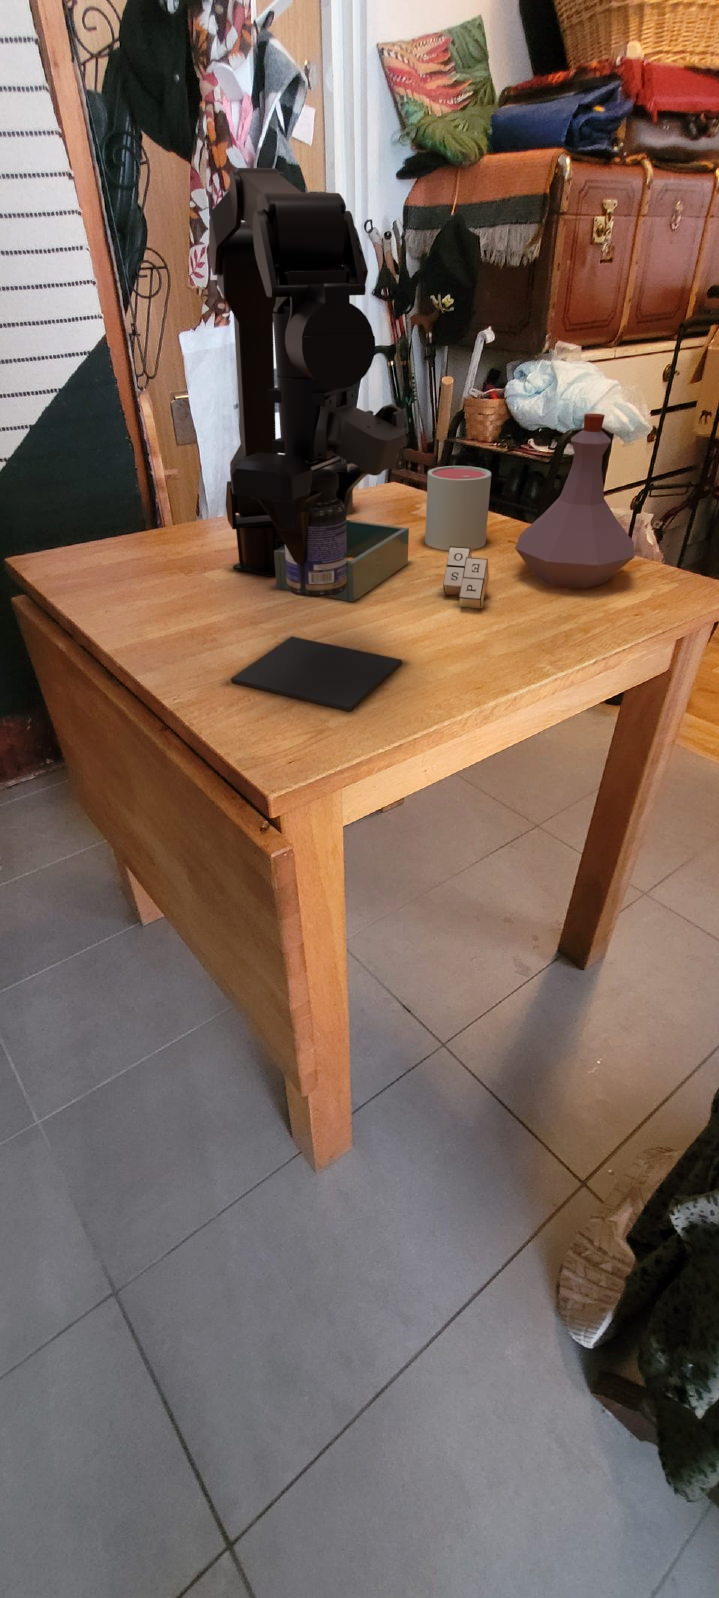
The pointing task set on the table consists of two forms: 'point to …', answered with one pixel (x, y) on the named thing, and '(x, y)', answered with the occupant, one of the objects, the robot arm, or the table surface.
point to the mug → (457, 507)
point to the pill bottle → (322, 544)
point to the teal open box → (362, 557)
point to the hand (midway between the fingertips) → (316, 553)
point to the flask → (578, 523)
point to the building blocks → (466, 577)
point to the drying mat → (318, 673)
